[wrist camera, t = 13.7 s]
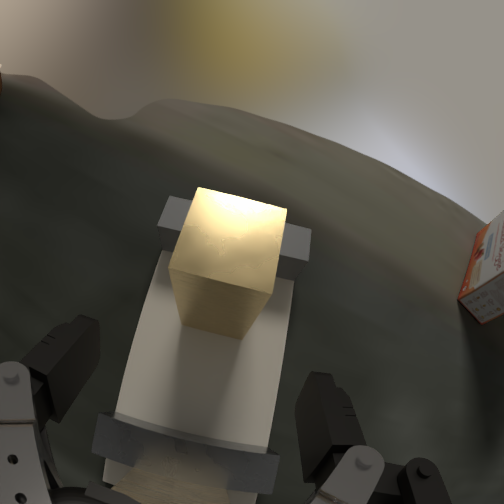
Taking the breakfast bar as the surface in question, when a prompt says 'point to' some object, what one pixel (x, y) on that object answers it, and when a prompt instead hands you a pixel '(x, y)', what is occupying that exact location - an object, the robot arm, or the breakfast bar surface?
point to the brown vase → (0, 84)
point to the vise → (208, 357)
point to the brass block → (225, 262)
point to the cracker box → (486, 274)
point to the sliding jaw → (181, 463)
